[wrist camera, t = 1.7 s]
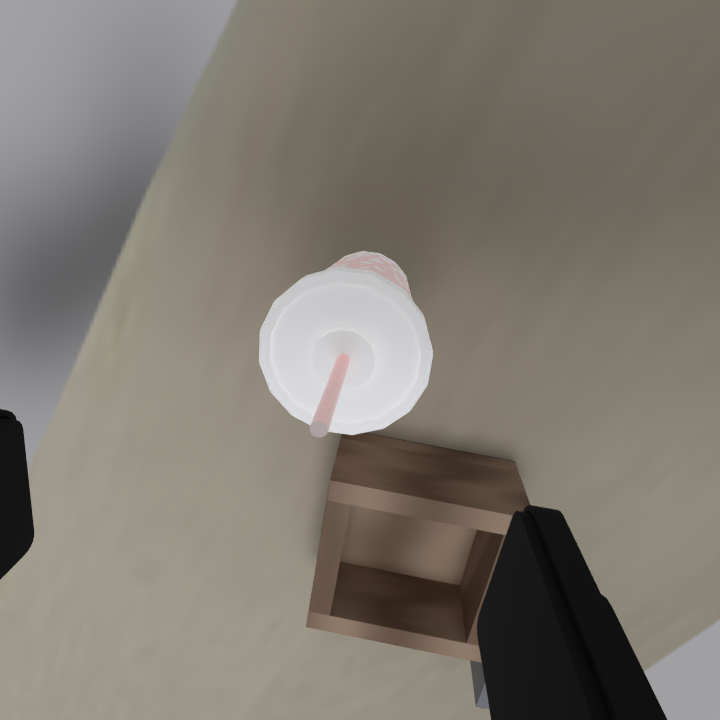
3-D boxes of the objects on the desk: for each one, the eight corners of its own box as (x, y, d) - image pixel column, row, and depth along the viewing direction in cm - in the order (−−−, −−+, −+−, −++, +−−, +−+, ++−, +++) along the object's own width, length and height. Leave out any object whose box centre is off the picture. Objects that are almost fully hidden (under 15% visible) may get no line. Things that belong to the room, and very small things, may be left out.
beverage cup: (372, 372, 27) (337, 564, 14) (284, 301, 26) (157, 434, 13) (450, 290, 25) (494, 423, 12) (358, 208, 24) (295, 256, 11)
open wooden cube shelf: (514, 461, 28) (535, 520, 23) (472, 590, 32) (482, 662, 27) (343, 429, 28) (330, 480, 24) (321, 560, 32) (305, 626, 27)
